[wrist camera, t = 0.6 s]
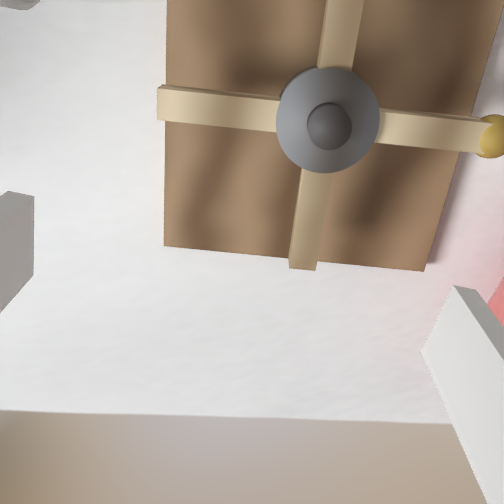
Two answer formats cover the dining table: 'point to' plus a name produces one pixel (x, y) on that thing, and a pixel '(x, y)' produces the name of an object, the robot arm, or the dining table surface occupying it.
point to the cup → (19, 4)
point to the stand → (267, 144)
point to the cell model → (498, 302)
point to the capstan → (328, 123)
